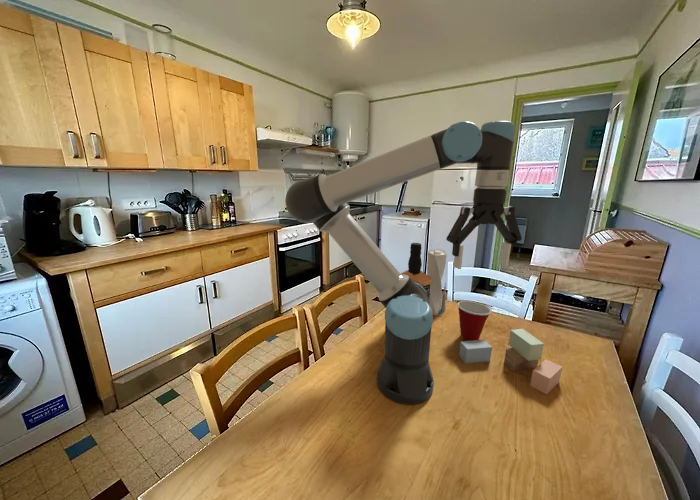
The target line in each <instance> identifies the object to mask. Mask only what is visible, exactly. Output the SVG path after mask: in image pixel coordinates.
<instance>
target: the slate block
mask: <svg viewBox="0 0 700 500" xmlns="http://www.w3.org/2000/svg"><path fill="white" fill-rule="evenodd" d="M459 343H460V344H459V354H458V356H459V357H460V358H461V359H462V361H463V363H465V364H472V363H484V362H491V358H492V349H493V346H492V345H490V343H488V342H487V340H486V339H478V340H474V341H466V340H464V341H460V342H459Z"/></svg>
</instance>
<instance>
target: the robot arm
mask: <svg viewBox="0 0 700 500" xmlns="http://www.w3.org/2000/svg"><path fill="white" fill-rule="evenodd" d="M515 128H516V126H515V123H513V121H510V120H509V121H508V120H496V121H489V122H485V123H483V124H482V125H481V127H480V128H479V126H478V125H476V123H474V122H472V121H467V120H466V121H465V120H463V121H458V122H456V123H453V124H451V125H450V126H449V127H448V128H446V129H443V130H441V131H438V132H436V133H433V134H431V135H428V136H426V137H423V138H420V139H418V140H415V141H412V142H409V143H408V144H406V145H402V146H400V147H397V148H396V149H393V150H390V151H388V152H385V153H383V154H380V155H377V156H375V157H371V158H370V159H368V160H365V161H362V162H359V163H358V164H354V165H352V166H350V167H347V168H345V169H342V170H338V171H337V172H334V173H332V174H330V175H327V174H326V175H325V174H324V173H321V174H320V173H319V174H317V175H315V176H312V177H309V178H305V179H301V180H298V181H295V182H294V183H293V184H292V185H291V186H290V187H289V188H288V189H287V192H286V193H285V207H286V208H285V209H286V210H287V212H288V213H289V215H290V217H292V218H293V219H294V220H296V221H297V222H299V223H305V224H313V225H314V226H315V227H316V228H317V229H318V230H319V232H323V233H328V234H329V235H330V237H331V238H332V239H333V240H334V241H335V242H336V244H337V245H338V246H339V247H340V248H341V250H342V251H343V252H344V253H345V254H346V255H347V257H348V258H349V259H350V260H351V261H352V263H353V264H354V265H355V266H356V267H357V268H358V269H359V270H360V272H361V273H362V274H363V276H364V277H365V278H366V279H367V280H368V281H369V282H370V283H371V285H372V286H373V287H374V288H375V290H376V291H377V292H378V300H379V302H380V303H381V305H383V307H384V308H385V312H384V321H385V322H384V323H385V326H384V329H385V330H384V349H383V350H384V351H383V353H384V354H383V357H382V359H381V362H380V364H379V367H378V369H377V372H376V384H377V388H378V389H379V391H380V392H381V393H382V394H383V395H384V397H386V398H387V399H389V400H391V401H393V402H395V403H398V404H403V405H417V404H421V403H424V402H425V401H427V400H428V399H429V398H431V396H432V395H433V393H434V392H433V391H434V384H435V382H434V380H435V379H434V376H433V372H432V369H431V365H430V362H429V358H430V350H431V349H430V347H431V338H432V335H431V334H432V326H433V322H434V318H433V317H434V315H432V309H431V307H430V302H429V297H428V295H427V293H426V291H425V289H424V288H423V287H422V286H421V285H419V284H418V283H416V282H413V280H412V279H411V278H410V277H409V276H408V275H403V274H401V273H400V271H399V270H398V269H397V268H396V267H395V265H393V263H392V262H391V261H390V260H389V258H387V256H386V255H385V254H384V253H383V251H382V250H381V248H379V246H378V245H376V243H375V242H374V241H373V239H372V238H371V237H370V236H369V234H368V233H366V231H365V230H364V229H363V227H361V226H360V224H358V222H357V221H356V219H355V218H354V217H353V215H351V214H350V209H351V208H350V207H351V206H350V205H349V203H350V202H352V201H356V200H358V199H361V198H364V197H367V196H369V195H373V194H375V193H378V192H380V191H381V192H382V191H383V190H386V189H389V188H392V187H394V186H397V185H400V184H403V183H405V182H408V181H411V180H413V179H416V178H420V177H422V176H425V175H428V174H430V173H433V172H435V171H439V170H441V169H445V168H448V167H451V166H453V165H457V164H458V165H459V164H471V165H472V164H476V173H475V182H474V186H475V187H476V188H474V190H473V198H472V201H473V202H472V203H473V205H472V207H467V206H461V208H460V212H459V215H458V217H457V219H456V220H455V222H454V224H453V226H452V228H451V229H450V230H449V233H448V235H447V236H446V238H445V240H446V241H447V242H449V243H451V244H452V248H451V249H452V252H451V255H452V256H453V257H454V258H453V267H454V268H456V269H457V270H461V269H462V265H463V253H464V246H465V245H464V244H462V243H464V241H465V240H466V239H467V237H469V235H471V233H472V232H473V231H474V230H475V229H476V227H479V226H480V225H487V224H489V225H494V226H495V227H496V229H497V230H498V232H499V233H500V235H501V236H502V238H503V239H504V240H505V241H501V248H500V257H499V263H498V264H499V265H500V266H502V267H505V268H508V267H509V262H510V255H512V254H513V249H514V245H516V244H517V243H518V242H520V241H522V239H523V238H522V234H521V231H520V228H519V225H518V221H517V218H516V216H515V215H516V207H514V206H511V205H506V206H504V204H505V203H506V198H507V189H506V187H507V186H508V184H509V183H508V182H509V175H510V170H511V169H510V167H511V160H512V154H513V148H514V143H515V132H516V131H515V130H516V129H515ZM471 215H472V216H471ZM502 215H504V218H505V220H503V218H502ZM469 216H471V218H469ZM468 219H469V220H468ZM467 221H468V222H467ZM505 221H506V224H505ZM466 222H467V223H466Z"/></svg>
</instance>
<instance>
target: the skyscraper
mask: <svg viewBox="0 0 700 500" xmlns="http://www.w3.org/2000/svg"><path fill="white" fill-rule="evenodd" d="M447 256H448V254H447V251H446V250H443V248H442V249H440V248H436V249H429V250H428V251H427V260H426V261H427V263H426V274H427V275H428V276H430V277H431V279H432V281H431V284H430V296H429V302H430V307H431V309H432V316H437V317H440V318H441V317H443V315H444V314H445V312H446V303H447V286H446V285H447V283H446V282H444V287H442V286H443V285H442V280H443V276H444V272H445V269H446V264H447V258H448V257H447ZM442 289H443V291H442Z"/></svg>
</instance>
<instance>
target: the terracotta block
mask: <svg viewBox="0 0 700 500" xmlns="http://www.w3.org/2000/svg"><path fill="white" fill-rule="evenodd" d="M562 370H563V366H561V365H559V364H558V363H555V362H553V361H550V360H549V359H545V360H543V361H542V362H541V363H539V364H538V365H537V367H536V368H533V369H532V373H531V378H530V379H531V380H530V384H529V386H530V387H532V388H533V389H535V390H538V391H540V392H541V393H543V394H545V395H548V394H549V393H550V392H551V391H552V390H553V389H554V388H555V387H556V386H557V385H558V384H559V383H560V379H561V374H562V372H563V371H562Z"/></svg>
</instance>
